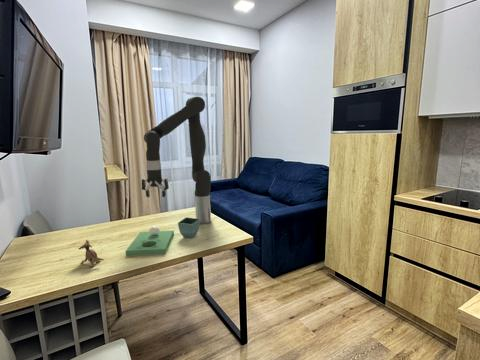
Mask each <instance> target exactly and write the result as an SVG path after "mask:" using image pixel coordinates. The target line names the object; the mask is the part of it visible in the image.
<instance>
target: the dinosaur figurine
mask: <svg viewBox="0 0 480 360" xmlns="http://www.w3.org/2000/svg"><path fill="white" fill-rule="evenodd" d="M90 248H91V249H90ZM92 248H93V246H92V245H91V244H90V241H89V240H86V239H85V243H84V244H83V245H81V246H80V247H78V250H81V249H82V250H83V249H85V255H84V256H85V259H83V260H82V261H81V262H79V263H80V264H83V263H86V262H89V263H90V264H91V265H90V266H89V268H92V267H94V265H95V263H100V262H101V261H105V259H104V258H101V257H98V253H97V252H96V251H95V249H92Z"/></svg>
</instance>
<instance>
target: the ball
mask: <svg viewBox="0 0 480 360" xmlns="http://www.w3.org/2000/svg"><path fill="white" fill-rule="evenodd" d="M159 231H160V228H159V227H158V225H152V226H151V227H150V228H149V231H148V232H150V234H151V235H157V234H158V233H159Z"/></svg>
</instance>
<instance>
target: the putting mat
mask: <svg viewBox="0 0 480 360" xmlns="http://www.w3.org/2000/svg"><path fill="white" fill-rule="evenodd" d="M174 231H175V230H159V233H158V234H157V235H151V234H150V232H149V231H140V232H139V233H138V234H137V236H136V237H135V238H134V239H133V241H131V243H130V244H129V246H128V247H127V248H126V249H125V256H126V257H129V256H130V257H131V256H132V257H133V256H149V255H151V256H152V255H166V254H167V251H168V249H169V247H170V245H171V242H172V240H173V238H174V235H175V232H174Z"/></svg>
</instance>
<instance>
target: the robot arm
mask: <svg viewBox="0 0 480 360" xmlns="http://www.w3.org/2000/svg"><path fill="white" fill-rule="evenodd" d="M205 107H206V101H205V100H204V98H203V97H202V96H196V95H195V96H192V97H189V98H188V99H187V100H186V101H185V106H184V107H182V108H181V109H180V110H178V111H177V112H175V113H173V114H171V115H170V116H168V117H167V118H165V119H164V120H161V122H160V123H159V124H158V125H156V126H154V127H152V128H151V129H149V130H148V131H146V132H145V133H144V135H143V141H144V142H145V143H146V151H145V158H146V161H145V162H146V163H145V165H146V177H147V178H142V179H141V190H142V191H145V196H146V198H150V197H151V196H150V195H151V194H150V189H151V188H154V187H155V188H159V189H160V190H161V197H162V198H165V197H166V195H167V193H166V191H167V190H168V189H169V188H170V187H169V181H168V178H163V177H162V164H161V155H160V148H161V139H162V138H163V137H166V136H167V135H169V134H171V133H172V132H173V131H174V130H176V129H177V128H178V127H179V126H180V125H182V124H183V123H184V122H186V121H187V122H188V133H189V145H190V146H189V147H190V155H191V162H192V164H191V177H192V180H193V182H194V183H196V184H195V185H196V187H195V188H196V189H195V190H194V205H195V206H194V208H195V210H194V211H195V218H196V219H200V222H199V225H200V224H201V225H202V224H203V225H205V224H208V223H209V224H210V223H212V216H211V215H212V212H211V210H212V209H211V196H210V195H211V190H212V189H211V186H212V180H211V179H212V178H211V174H210V172H209V171H208V170H206V169H205V165H204V157H205V154H206V147H207V143H206V135H205V131H204V129H203V126H202V123H201V113H202V112H203V111H204V110H205ZM147 183H148V185H147ZM163 184H164V185H163Z"/></svg>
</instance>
